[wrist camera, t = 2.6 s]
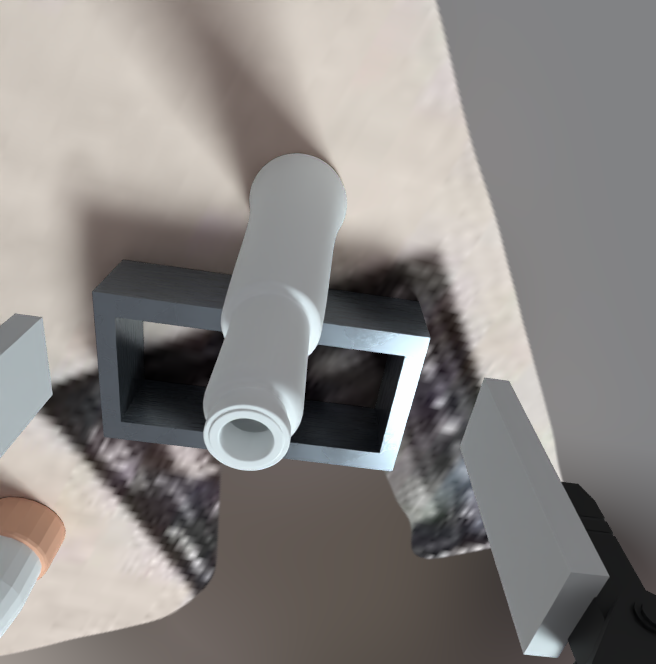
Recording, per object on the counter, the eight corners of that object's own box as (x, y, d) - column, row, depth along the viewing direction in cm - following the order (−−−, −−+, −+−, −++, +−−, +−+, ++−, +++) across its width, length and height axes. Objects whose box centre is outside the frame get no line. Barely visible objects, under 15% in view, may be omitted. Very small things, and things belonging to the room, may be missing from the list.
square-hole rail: (129, 393, 40) (104, 436, 35) (122, 259, 34) (92, 291, 30) (386, 425, 41) (392, 471, 37) (418, 301, 36) (430, 337, 31)
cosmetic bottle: (244, 239, 33) (124, 505, 14) (256, 142, 31) (126, 315, 11) (335, 256, 34) (338, 536, 15) (356, 163, 31) (392, 362, 12)
